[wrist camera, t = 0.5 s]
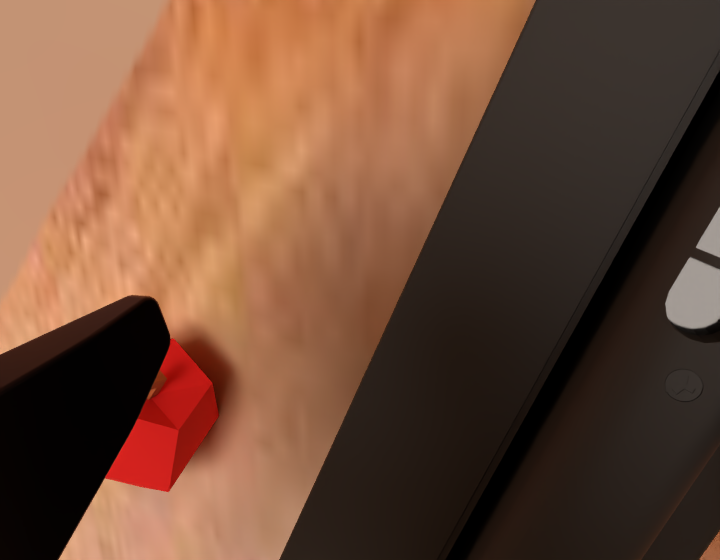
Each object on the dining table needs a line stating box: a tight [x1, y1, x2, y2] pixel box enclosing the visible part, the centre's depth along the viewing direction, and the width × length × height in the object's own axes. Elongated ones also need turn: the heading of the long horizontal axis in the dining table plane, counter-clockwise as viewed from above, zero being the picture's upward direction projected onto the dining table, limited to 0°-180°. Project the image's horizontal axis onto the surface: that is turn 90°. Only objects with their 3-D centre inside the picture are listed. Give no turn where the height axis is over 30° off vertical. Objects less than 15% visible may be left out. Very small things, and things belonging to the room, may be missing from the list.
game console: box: [279, 0, 720, 560], centre depth 13 cm, size 28×6×15 cm, turn 156°
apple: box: [105, 338, 219, 492], centre depth 24 cm, size 7×7×8 cm
